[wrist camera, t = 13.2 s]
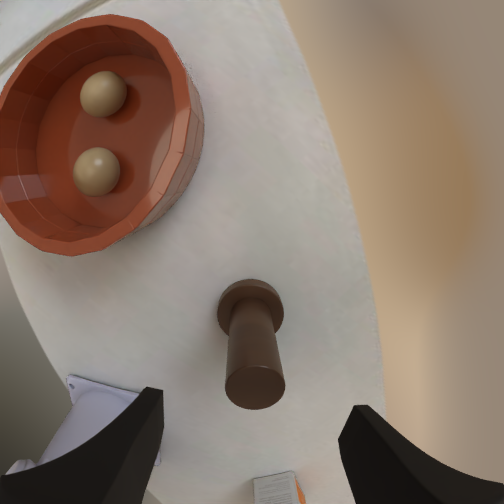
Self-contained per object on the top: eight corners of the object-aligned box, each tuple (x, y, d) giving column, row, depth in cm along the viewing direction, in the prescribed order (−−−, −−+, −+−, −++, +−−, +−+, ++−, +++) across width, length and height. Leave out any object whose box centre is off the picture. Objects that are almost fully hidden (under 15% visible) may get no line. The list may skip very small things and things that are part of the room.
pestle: (282, 334, 19) (303, 418, 12) (221, 338, 19) (211, 423, 12) (281, 276, 18) (306, 343, 11) (215, 280, 18) (198, 350, 11)
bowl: (189, 248, 18) (170, 274, 13) (28, 225, 17) (-18, 239, 12) (220, 50, 15) (213, 9, 10) (53, 57, 14) (14, 36, 9)
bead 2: (106, 177, 13) (85, 214, 14) (137, 165, 16) (115, 197, 17) (75, 142, 13) (57, 180, 14) (108, 134, 15) (88, 168, 16)
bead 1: (120, 120, 14) (116, 122, 16) (136, 72, 13) (130, 80, 15) (72, 111, 12) (75, 114, 14) (89, 62, 11) (89, 71, 14)
